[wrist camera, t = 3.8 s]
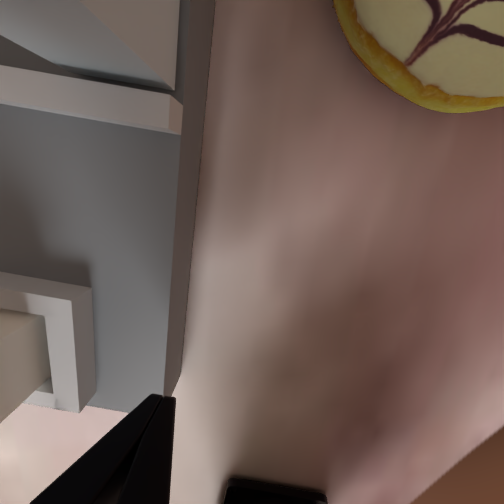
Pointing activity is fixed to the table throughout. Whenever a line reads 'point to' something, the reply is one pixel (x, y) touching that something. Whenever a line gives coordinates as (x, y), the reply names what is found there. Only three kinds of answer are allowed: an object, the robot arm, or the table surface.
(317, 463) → the table surface
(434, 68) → the decorated donut
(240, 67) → the table surface
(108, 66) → the grey slider
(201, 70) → the panel
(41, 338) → the cream slider
